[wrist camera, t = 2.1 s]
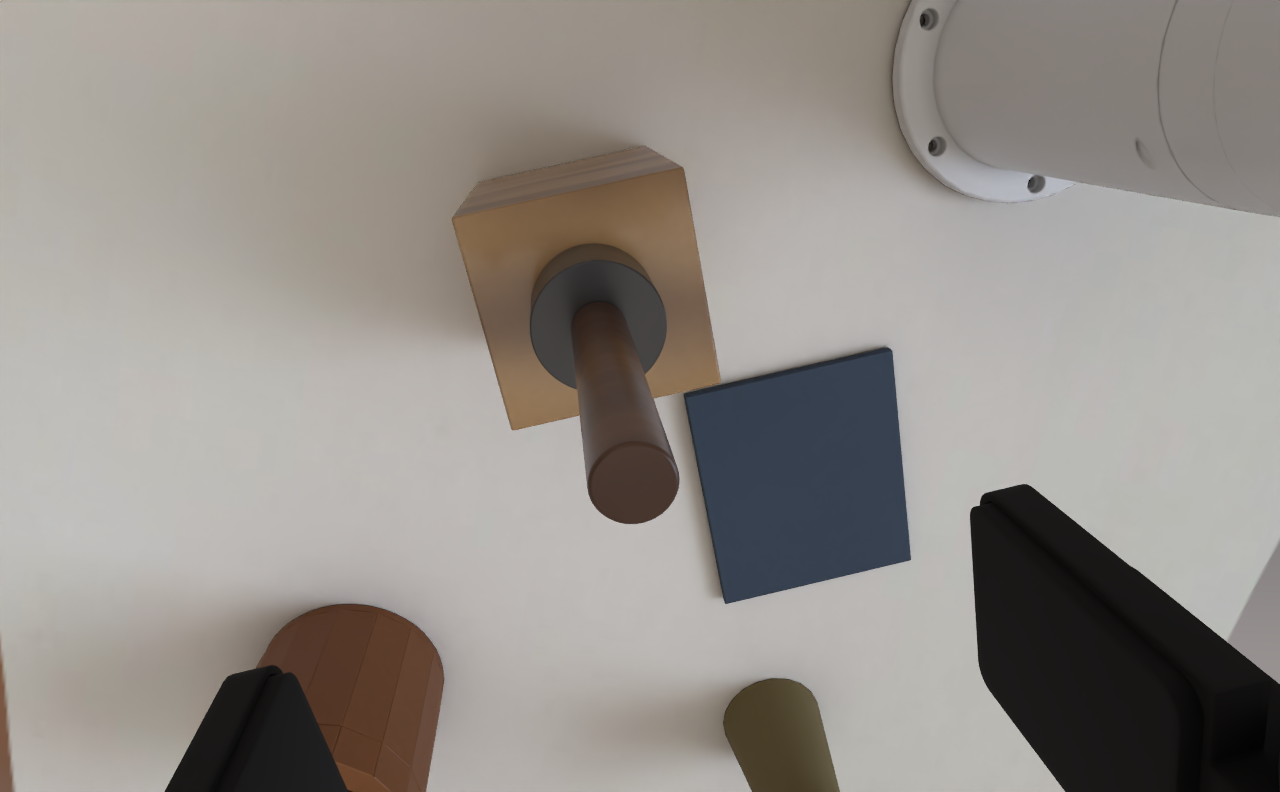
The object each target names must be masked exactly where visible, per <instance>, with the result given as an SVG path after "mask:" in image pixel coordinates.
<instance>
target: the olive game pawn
mask: <svg viewBox="0 0 1280 792" xmlns="http://www.w3.org/2000/svg"><path fill="white" fill-rule="evenodd" d="M723 724H724V730H725V735H726V737H727V739H728V741H729V743H730V745H731V747H732V750H733V752H734V754H735V756H736V758H737V760H738V762H739V765H740V767H741V769H742V771H743V773H744V775H745V777H746V779H747V782H748V784H749V786H750V788H751V790H752V792H840V790H839V787H838V783H837V779H836V775H835V771H834V767H833V763H832V759H831V755H830V751H829V747H828V743H827V739H826V735H825V731H824V727H823V723H822V719H821V715H820V711H819V707H818V703H817V701H816V699H815V697H814V696H813V694H812V692H811V691H810V690H809V689H807V688H806V687H805V686H803V685H802V684H801V683H798V682H795V681H792V680H789V679H769V680H765V681H760V682H757V683H755V684H753V685H751V686H749V687H747V688H745V689H743V690H742V691H741V692H740V693H739V694H738V695H737V696H736V697H735V698H733V700H732V701H731V703H730V705H729V706H728V708H727V710H726V712H725V717H724V722H723Z"/></svg>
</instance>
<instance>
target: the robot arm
mask: <svg viewBox="0 0 1280 792" xmlns="http://www.w3.org/2000/svg"><path fill="white" fill-rule="evenodd" d="M920 15H923V16H924V17H925V24H924V25H923V26H922V27H921V25H920ZM892 81H893V94H894V105H895V109H896V113H897V117H898V120H899V124H900V128H901V131H902V133H903V135H904V137H905V139H906V141H907V143H908V145H909V147H910V149H911V151H912V153H913V154H914V155H915V157H916V158H917V159H918V160H919V162H920V163H921V164H922V165H923V167H924V168H925V169H926V170H927V171H928V172H929V173H930V174H931V175H933V176H934V177H935V178H936V179H938V180H939V181H940V182H941V183H942V184H944V185H945V186H947V187H949V188H951V189H953V190H955V191H957V192H959V193H961V194H963V195H967V196H971V197H974V198H977V199H981V200H986V201H993V202H1001V203H1015V202H1028V201H1033V200H1036V199H1040V198H1044V197H1047V196H1051V195H1054V194H1056V193H1058V192H1060V191H1062V190H1064V189H1067V188H1069V187H1071V186H1073V185H1075V184H1077V183H1078V182H1080V183H1086V184H1091V185H1097V186H1103V187H1108V188H1114V189H1120V190H1125V191H1131V192H1137V193H1143V194H1148V195H1154V196H1160V197H1165V198H1171V199H1177V200H1182V201H1188V202H1194V203H1199V204H1205V205H1211V206H1216V207H1222V208H1228V209H1233V210H1240V211H1246V212H1251V213H1257V214H1263V215H1269V216H1276V217H1280V0H912V1H911V3H910V6H909V8H908V10H907V12H906V15H905V17H904V19H903V21H902V25H901V29H900V33H899V36H898V40H897V44H896V48H895V54H894V65H893V76H892ZM930 141H932V142H933V147H932V149H931V150H929V151H928V145H929V142H930ZM1029 179H1030V183H1029V185H1028V181H1029ZM1027 185H1028V186H1027ZM970 525H971V542H972V559H973V576H974V594H975V611H976V628H977V645H978V661H979V667H980V671H981V674H982V677H983V679H984V682H985V684H986V686H987V687H988V689H989V690H990V692H991V693H992V695H993V696H994V697H995V699H996V700H997V701H998V703H999V704H1000V705H1001V707H1002V708H1003V709H1004V711H1005V712H1006V713H1007V715H1008V716H1009V717H1010V719H1011V720H1012V721H1013V723H1014V724H1015V725H1016V727H1017V728H1018V729H1019V731H1020V732H1021V733H1022V735H1023V736H1024V737H1025V739H1026V740H1027V741H1028V743H1029V744H1030V745H1031V747H1032V748H1033V749H1034V751H1035V752H1036V753H1037V754H1038V756H1039V757H1040V758H1041V760H1042V761H1043V762H1044V764H1045V765H1046V766H1047V768H1048V769H1049V770H1050V772H1051V773H1052V774H1053V776H1054V777H1055V778H1056V780H1057V781H1058V782H1059V784H1060V785H1061V786H1062V788H1063V789H1064V790H1065V792H1280V684H1278V683H1277V682H1276V681H1275V680H1273V679H1272V678H1271V677H1270V676H1269V675H1267V674H1266V673H1265V672H1263V671H1262V670H1261V669H1260V668H1258V667H1257V666H1256V665H1255V664H1253V663H1252V662H1251V661H1250V660H1249V659H1247V658H1246V657H1245V656H1243V655H1242V654H1241V653H1240V652H1239V651H1237V650H1236V649H1235V648H1234V647H1232V646H1231V645H1230V644H1229V643H1227V642H1226V641H1225V640H1224V639H1222V638H1221V637H1220V636H1219V635H1217V634H1216V633H1215V632H1214V631H1212V630H1211V629H1210V628H1209V627H1208V626H1206V625H1205V624H1204V623H1203V622H1201V621H1200V620H1199V619H1198V618H1196V617H1195V616H1194V615H1193V614H1191V613H1190V612H1189V611H1188V610H1186V609H1185V608H1184V607H1183V606H1181V605H1180V604H1179V603H1178V602H1176V601H1175V600H1174V599H1173V598H1171V597H1170V596H1169V595H1168V594H1166V593H1165V592H1164V591H1163V590H1161V589H1160V588H1159V587H1158V586H1156V585H1155V584H1154V583H1153V582H1151V581H1150V580H1149V579H1148V578H1146V577H1145V576H1144V575H1143V574H1141V573H1140V572H1139V571H1138V570H1136V569H1134V568H1133V567H1131V566H1129V565H1128V564H1127V563H1126V562H1124V561H1123V560H1122V559H1121V558H1119V557H1118V556H1117V555H1116V554H1115V553H1113V552H1112V551H1111V550H1110V549H1108V548H1107V547H1106V546H1105V545H1103V544H1102V543H1101V542H1100V541H1098V540H1097V539H1096V538H1095V537H1093V536H1092V535H1091V534H1090V533H1088V532H1087V531H1086V530H1085V529H1083V528H1082V527H1081V526H1080V525H1078V524H1077V523H1076V522H1075V521H1074V520H1072V519H1071V518H1070V517H1069V516H1067V515H1066V514H1065V513H1064V512H1062V511H1061V510H1060V509H1059V508H1057V507H1056V506H1055V505H1054V504H1052V503H1051V502H1050V501H1049V500H1047V499H1046V498H1045V497H1044V496H1042V495H1041V494H1040V493H1039V492H1037V491H1036V490H1035V489H1034V488H1033V487H1031V486H1029V485H1027V484H1021V485H1017V486H1013V487H1009V488H1005V489H1001V490H997V491H992V492H988V493H985V494H984V495H983V496H982V498H981V500H980V506H976V507H973V508H972V509H971V512H970ZM165 792H348V789H347V787H346V785H345V783H344V781H343V778H342V776H341V774H340V772H339V769H338V767H337V765H336V763H335V761H334V758H333V756H332V754H331V752H330V749H329V747H328V745H327V743H326V741H325V738H324V736H323V734H322V732H321V730H320V727H319V725H318V723H317V721H316V718H315V716H314V714H313V712H312V710H311V707H310V705H309V703H308V701H307V698H306V696H305V694H304V692H303V690H302V687H301V685H300V683H299V681H298V679H297V677H296V676H295V675H294V674H293V673H291V672H287V673H283V672H282V670H281V669H280V668H279V667H278V666H275V665H269V666H265V667H261V668H257V669H253V670H248V671H244V672H240V673H236V674H232V675H230V676H228V677H227V678H226V679H225V681H224V682H223V683H222V685H221V687H220V689H219V691H218V693H217V695H216V697H215V698H214V700H213V702H212V704H211V706H210V708H209V710H208V712H207V713H206V715H205V717H204V719H203V721H202V723H201V725H200V726H199V728H198V730H197V732H196V734H195V736H194V738H193V740H192V741H191V743H190V745H189V747H188V749H187V751H186V753H185V755H184V756H183V758H182V760H181V762H180V764H179V766H178V768H177V769H176V771H175V773H174V775H173V777H172V779H171V781H170V783H169V784H168V786H167V788H166V790H165Z"/></svg>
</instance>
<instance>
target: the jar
mask: <svg viewBox="0 0 1280 792" xmlns="http://www.w3.org/2000/svg"><path fill="white" fill-rule="evenodd" d="M269 665H275V666H278V667H279V668H280V669H281V670H282V672H283V673H287V672H291V673H293V674H294V675H295V676H296V677H297V679H298V681H299V683H300V685H301V687H302V690H303V692H304V694H305V696H306V698H307V701H308V703H309V705H310V707H311V710H312V712H313V714H314V716H315V718H316V721H317V723H318V725H319V727H320V730H321V732H322V734H323V736H324V738H325V741H326V743H327V745H328V747H329V749H330V752H331V754H332V756H333V758H334V761H335V763H336V765H337V767H338V769H339V772H340V774H341V776H342V778H343V781H344V783H345V785H346V787H347V789H348V792H426V788H427V782H428V776H429V770H430V765H431V759H432V753H433V747H434V741H435V735H436V729H437V723H438V717H439V711H440V705H441V698H442V691H443V684H444V674H443V667H442V663H441V659H440V657H439V655H438V652H437V650H436V648H435V647H434V645H433V644H432V642H431V641H430V640H429V638H428V637H427V636H426V635H425V634H424V633H423V632H422V631H421V630H420V629H419V628H418V627H416V626H415V625H414V624H412V623H411V622H409V621H408V620H406V619H405V618H403V617H401V616H399V615H397V614H395V613H392V612H389V611H387V610H384V609H380V608H376V607H372V606H366V605H355V604H344V605H334V606H328V607H323V608H320V609H316V610H313V611H310V612H308V613H306V614H303V615H301V616H299V617H298V618H296V619H294V620H293V621H291V622H290V623H288V624H287V625H286V626H285V627H283V628H282V629H281V630H280V631H279V632H278V633H277V634H276V635H275V637H274V638H273V640H272V641H271V642H270V644H269V646H268V648H267V650H266V652H265V653H264V655H263V657H262V658H261V660H260V661H259V663H258V665H257V667H256V669H257V668H261V667H265V666H269Z"/></svg>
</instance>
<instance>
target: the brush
mask: <svg viewBox="0 0 1280 792" xmlns="http://www.w3.org/2000/svg"><path fill="white" fill-rule="evenodd" d="M666 333H667V318H666V312H665V308H664V304H663V302H662V300H661V297H660V295H659V294H658V292H657V290H656V288H655V286H654V284H653V283H652V281H651V279H650V277H649V276H648V274H647V272H646V270H645V269H644V268H643V267H642V265H641V264H640V263H639V262H638V261H637V260H636V259H635V258H634V257H632V256H631V255H630V254H628V253H627V252H625V251H623V250H621V249H619V248H616V247H614V246H610V245H606V244H598V243H592V244H582V245H578V246H574V247H571V248H569V249H567V250H564V251H563V252H561V253H559V254H558V255H556V256H555V257H554V258H553V259H551V260H550V261H549V262H548V263H547V265H546V266H545V267H544V268H543V270H542V271H541V272H540V274H539V276H538V278H537V280H536V282H535V285H534V288H533V292H532V297H531V311H530V338H531V343H532V346H533V349H534V352H535V354H536V356H537V358H538V360H539V361H540V363H541V364H542V366H543V367H544V368H545V369H546V370H547V371H548V373H549V374H551V375H552V376H553V377H554V378H555V379H557V380H558V381H560V382H561V383H563V384H565V385H567V386H569V387H571V388H574V389H577V394H578V403H579V413H580V422H581V432H582V441H583V451H584V460H585V469H586V479H587V488H588V494H589V497H590V499H591V501H592V503H593V505H594V506H595V507H596V509H597V510H598V511H599V512H600V513H602V514H603V515H604V516H606V517H607V518H609V519H611V520H613V521H616V522H619V523H625V524H638V523H643V522H647V521H650V520H652V519H654V518H656V517H658V516H659V515H661V514H662V513H663V512H664V511H665V510H666V509H667V508H668V507H669V506H670V505H671V503H672V502H673V500H674V499H675V496H676V494H677V491H678V488H679V472H678V468H677V465H676V462H675V460H674V457H673V454H672V451H671V448H670V445H669V442H668V440H667V437H666V434H665V431H664V428H663V425H662V422H661V419H660V417H659V414H658V411H657V408H656V405H655V402H654V399H653V397H652V394H651V391H650V388H649V385H648V382H647V379H646V376H645V374H646V373H647V372H648V371H649V370H650V369H651V367H652V366H653V365H654V364H655V362H656V361H657V359H658V357H659V356H660V353H661V351H662V349H663V346H664V343H665V339H666Z"/></svg>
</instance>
